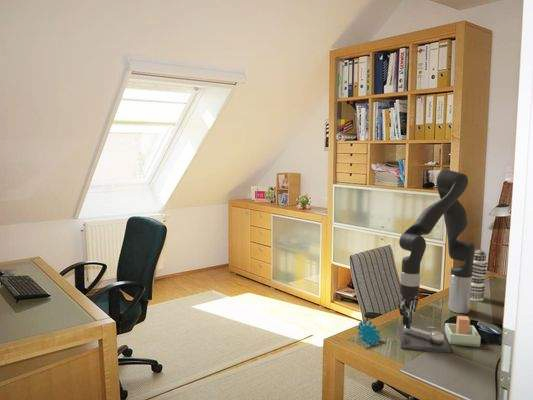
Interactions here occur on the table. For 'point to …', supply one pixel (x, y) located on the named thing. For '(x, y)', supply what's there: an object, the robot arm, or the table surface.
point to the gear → (368, 332)
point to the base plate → (420, 340)
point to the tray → (462, 336)
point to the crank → (425, 333)
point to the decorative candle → (478, 276)
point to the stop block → (462, 325)
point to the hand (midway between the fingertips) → (407, 323)
